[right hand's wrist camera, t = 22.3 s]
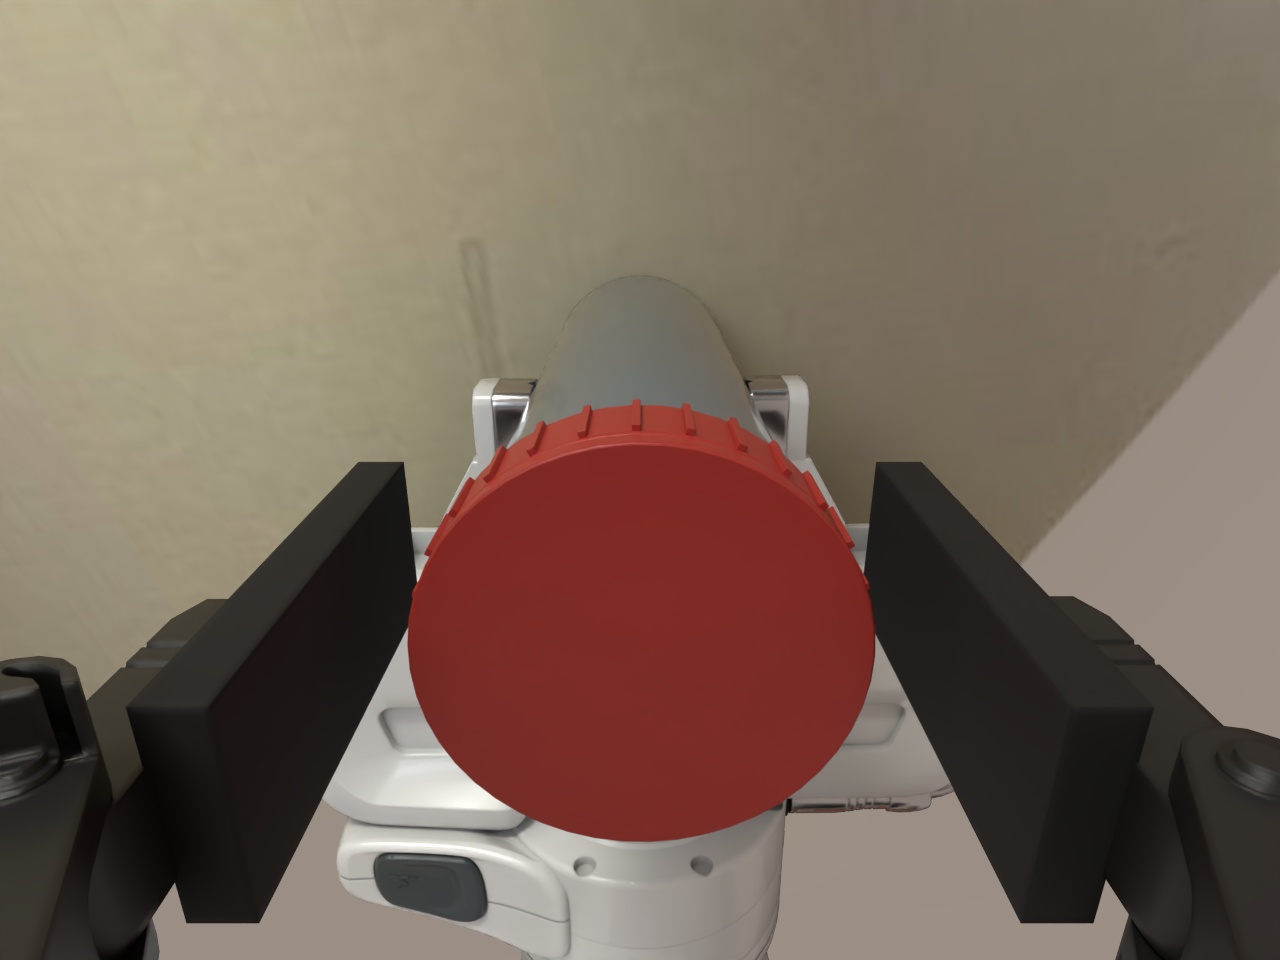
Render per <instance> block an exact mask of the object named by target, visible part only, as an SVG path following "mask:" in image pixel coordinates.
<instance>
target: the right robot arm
mask: <svg viewBox="0 0 1280 960" xmlns="http://www.w3.org/2000/svg"><path fill="white" fill-rule="evenodd" d="M864 575H865V577H866V579H867V581H868V583H869V587H870V589H869V590H868V593H869V596H870V599H871V603H872V610H873V616H874V623H875V634H876V636H877V638H878V640H879V642H880V644H881V646H882V648H883V650H884V652H885V654H886V656H887V658H888V660H889V662H890V664H891V666H892V668H893V670H894V672H895V674H896V676H897V678H898V680H899V682H900V684H901V686H902V688H903V690H904V692H905V694H906V696H907V698H908V700H909V702H910V704H911V706H912V708H913V710H914V712H915V714H916V716H917V718H918V720H919V722H920V724H921V726H922V728H923V730H924V732H925V734H926V736H927V738H928V740H929V742H930V744H931V746H932V748H933V750H934V752H935V754H936V756H937V758H938V759H939V761H940V763H941V765H942V767H943V769H944V771H945V773H946V775H947V777H948V779H949V781H950V783H951V785H952V787H953V789H954V791H955V793H956V795H957V797H958V799H959V801H960V803H961V805H962V807H963V809H964V811H965V813H966V815H967V817H968V819H969V821H970V823H971V825H972V827H973V829H974V831H975V833H976V835H977V837H978V839H979V841H980V843H981V845H982V847H983V849H984V851H985V853H986V855H987V857H988V859H989V861H990V863H991V865H992V867H993V869H994V871H995V873H996V875H997V877H998V879H999V881H1000V883H1001V885H1002V887H1003V889H1004V891H1005V893H1006V895H1007V897H1008V899H1009V901H1010V903H1011V905H1012V906H1013V909H1014V911H1015V913H1016V915H1017V917H1018V918H1019V920H1020V922H1021V923H1094V919H1095V916H1096V912H1097V909H1098V905H1099V902H1100V898H1101V895H1102V891H1103V887H1104V884H1105V880H1107V882H1108V883H1109V884H1110V886H1111V888H1112V889H1113V891H1114V892H1115V894H1116V895H1117V897H1118V898H1119V900H1120V901H1121V903H1122V905H1123V906H1124V908H1125V909H1126V911H1127V912H1128V914H1129V916H1128V920H1127V923H1126V926H1125V930H1124V933H1123V936H1122V940H1121V943H1120V946H1119V950H1118V953H1117V956H1116V959H1115V960H1280V739H1278V738H1275V737H1272V736H1269V735H1265V734H1262V733H1259V732H1255V731H1252V730H1249V729H1243V728H1235V727H1227V726H1223V725H1222V724H1221V723H1220V722H1219V721H1218V720H1217V719H1216V718H1215V717H1214V716H1213V715H1212V714H1211V713H1210V712H1209V711H1208V710H1207V709H1206V708H1204V707H1203V706H1202V705H1201V704H1200V703H1199V702H1198V701H1197V700H1196V699H1195V698H1194V697H1193V696H1192V695H1191V694H1190V693H1189V692H1188V691H1187V690H1186V689H1185V688H1184V687H1183V686H1182V685H1180V684H1179V683H1178V682H1177V681H1176V680H1175V679H1174V678H1173V677H1172V676H1171V675H1170V674H1169V673H1168V672H1167V671H1166V670H1165V669H1164V668H1163V667H1162V666H1161V665H1155V662H1154V659H1153V658H1152V657H1151V656H1150V655H1149V654H1148V653H1147V652H1146V651H1145V650H1144V649H1143V648H1142V647H1141V646H1140V645H1135V644H1134V640H1133V639H1132V638H1131V637H1130V636H1129V635H1128V634H1127V633H1126V632H1125V631H1124V630H1123V629H1122V628H1121V627H1120V626H1119V625H1118V624H1117V623H1116V622H1115V621H1114V620H1113V619H1112V618H1111V617H1110V616H1108V615H1106V614H1104V613H1102V612H1101V611H1099V610H1097V609H1095V608H1093V607H1092V606H1090V605H1088V604H1086V603H1084V602H1082V601H1081V600H1079V599H1077V598H1075V597H1073V596H1048V595H1047V594H1046V593H1045V591H1044V590H1043V589H1042V588H1041V587H1040V586H1039V585H1038V584H1037V583H1036V582H1035V581H1034V580H1033V579H1032V578H1031V577H1030V576H1029V575H1028V574H1027V573H1026V571H1025V570H1024V569H1023V568H1022V567H1021V566H1020V565H1019V564H1018V563H1017V562H1016V561H1015V560H1014V559H1013V558H1012V557H1011V556H1010V555H1009V554H1008V553H1007V552H1006V550H1005V549H1004V548H1003V547H1002V546H1001V545H1000V544H999V543H998V542H997V541H996V540H995V539H994V538H993V537H992V536H991V535H990V534H989V533H988V532H987V530H986V529H985V528H984V527H983V526H982V525H981V524H980V523H979V522H978V521H977V520H976V519H975V518H974V517H973V516H972V515H971V514H970V513H969V512H968V511H967V509H966V508H965V507H964V506H963V505H962V504H961V503H960V502H959V501H958V500H957V499H956V498H955V497H954V496H953V495H952V494H951V493H950V492H949V491H948V489H947V488H946V487H945V486H944V485H943V484H942V483H941V482H940V481H939V480H938V479H937V478H936V477H935V476H934V475H933V474H932V473H931V472H930V471H929V470H928V468H927V467H926V466H925V465H924V464H923V463H922V462H876V470H875V478H874V487H873V496H872V505H871V513H870V522H869V531H868V540H867V548H866V557H865V566H864ZM416 584H417V575H416V566H415V557H414V548H413V540H412V531H411V522H410V513H409V505H408V496H407V487H406V478H405V470H404V462H358V463H357V464H356V465H355V466H354V467H353V468H352V470H351V471H350V472H349V473H348V474H347V475H346V476H345V477H344V478H343V479H342V480H341V481H340V482H339V483H338V484H337V485H336V486H335V487H334V488H333V489H332V491H331V492H330V493H329V494H328V495H327V496H326V497H325V498H324V499H323V500H322V501H321V502H320V503H319V504H318V505H317V506H316V507H315V508H314V509H313V511H312V512H311V513H310V514H309V515H308V516H307V517H306V518H305V519H304V520H303V521H302V522H301V523H300V524H299V525H298V526H297V527H296V528H295V529H294V530H293V532H292V533H291V534H290V535H289V536H288V537H287V538H286V539H285V540H284V541H283V542H282V543H281V544H280V545H279V546H278V547H277V548H276V549H275V550H274V552H273V553H272V554H271V555H270V556H269V557H268V558H267V559H266V560H265V561H264V562H263V563H262V564H261V565H260V566H259V567H258V568H257V569H256V570H255V571H254V573H253V574H252V575H251V576H250V577H249V578H248V579H247V580H246V581H245V582H244V583H243V584H242V585H241V586H240V587H239V588H238V589H237V590H236V591H235V592H234V594H233V595H232V596H231V597H230V598H229V599H207V600H205V601H203V602H201V603H199V604H198V605H196V606H194V607H192V608H190V609H189V610H187V611H185V612H183V613H181V614H180V615H178V616H176V617H174V618H173V619H171V620H170V621H169V622H168V623H167V624H166V625H165V626H164V627H163V628H162V629H161V630H160V631H158V632H157V633H156V634H155V635H154V636H153V637H152V638H151V639H150V640H149V641H148V642H147V646H146V648H141V649H140V650H139V651H138V652H137V653H136V654H135V655H134V656H133V657H132V658H131V659H129V660H128V661H127V662H126V668H120V669H119V670H118V671H117V672H116V673H115V674H114V675H113V676H112V677H111V678H110V679H109V680H108V681H107V682H106V683H105V684H104V685H103V686H102V687H101V688H99V689H98V690H97V691H96V692H95V693H94V694H93V695H92V696H91V697H90V698H89V699H88V700H87V701H86V699H85V695H84V692H83V689H82V685H81V682H80V679H79V675H78V672H77V669H76V667H75V666H73V665H72V664H70V663H69V662H67V661H66V660H64V659H60V658H52V657H43V656H36V657H27V658H17V659H9V660H5V661H1V662H0V960H158V958H159V945H158V939H157V933H156V930H155V926H154V923H153V920H152V917H153V915H154V914H155V912H156V911H157V909H158V907H159V906H160V904H161V903H162V901H163V900H164V898H165V897H166V895H167V894H168V892H169V891H170V889H171V887H172V886H173V884H174V883H175V884H176V887H177V891H178V894H179V898H180V901H181V905H182V909H183V912H184V916H185V919H186V923H259V922H260V920H261V918H262V917H263V914H264V913H265V911H266V909H267V907H268V905H269V903H270V901H271V898H272V897H273V895H274V893H275V891H276V889H277V887H278V885H279V883H280V881H281V879H282V877H283V875H284V873H285V871H286V869H287V867H288V865H289V863H290V861H291V859H292V857H293V855H294V853H295V851H296V849H297V847H298V845H299V843H300V841H301V839H302V837H303V835H304V833H305V831H306V829H307V827H308V825H309V823H310V821H311V819H312V817H313V815H314V813H315V811H316V809H317V807H318V805H319V803H320V801H321V799H322V797H323V795H324V793H325V791H326V789H327V787H328V785H329V783H330V781H331V779H332V777H333V775H334V773H335V771H336V769H337V767H338V765H339V763H340V761H341V759H342V758H343V756H344V754H345V752H346V750H347V748H348V746H349V744H350V742H351V740H352V738H353V736H354V734H355V732H356V730H357V728H358V726H359V724H360V722H361V720H362V718H363V716H364V714H365V712H366V710H367V708H368V706H369V704H370V702H371V700H372V698H373V696H374V694H375V692H376V690H377V688H378V686H379V684H380V682H381V680H382V678H383V676H384V674H385V672H386V670H387V668H388V666H389V664H390V662H391V660H392V658H393V656H394V654H395V652H396V650H397V648H398V646H399V644H400V642H401V640H402V638H403V636H404V634H405V632H406V630H407V628H408V623H409V615H410V610H411V605H412V601H413V598H412V592H413V590H414V588H415V586H416Z"/></svg>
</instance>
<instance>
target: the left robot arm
mask: <svg viewBox="0 0 1280 960" xmlns="http://www.w3.org/2000/svg"><path fill="white" fill-rule="evenodd" d="M743 380H744V382H745V384H746V386H747V388H748V390H749V392H750V394H751V396H752V398H753V400H754V402H755V404H756V406H757V409H758V411H759V413H760V415H761V417H762V419H763V421H764V423H765V425H766V427H767V429H768V431H769V433H770V435H771V437H772V439H773V440H774V441H776V442H777V443H778V444H779V446H780V448H781V450H782V452H783V454H784V456H785V457H786V458H788V459H789V460H790V461H791V462H792V463H793V464H794V465H795V466H796V467H797V468H798V469H799V470H800V472H801V473H802V474H803V473H804V472H805V471H807V470H808V471H809V472H810V473H811V475H812V476H813V478H814V480H815V482H816V483H817V485H818V487H819V489H820V491H821V492H822V494H823V496H824V498H825V500H826V501H827V503H828V505H829V507H828V508H830V507H832V506H833V507H834V509H835V511H836V512H837V514H838V516H839V518H840V519H841V521H842V523H843V525H844V526H845V528H846V530H847V532H848V533H849V535H850V537H851V539H852V541H853V542H854V544H855V547H853V548H851V549H850V550H851V552H852V554H853V555H854V557H855V559H856V561H857V563H858V565H859V566H860V568H861V570H862V572H863V574H864V566H865V557H866V548H867V540H868V531H869V523H858V524H845V521H844V520H843V518H842V516H841V514H840V512H839V510H838V508H837V506H836V505H835V503H834V501H833V499H832V497H831V495H830V493H829V492H828V490H827V488H826V486H825V484H824V482H823V480H822V479H821V477H820V475H819V473H818V471H817V469H816V467H815V466H814V464H813V462H812V460H811V458H810V456H809V455H808V453H807V451H806V449H807V434H808V419H809V404H810V401H809V392H808V386H807V384H806V383H805V382H804V380H803V379H802V378H801V377H800V375H790V376H744V378H743ZM537 382H538V380H537V379H500V378H489V379H481V380H480V381H479V383H478V384H477V385H476V387H475V388H474V391H473V398H472V414H473V425H474V437H475V448H476V455H475V457H474V459H473V461H472V462H471V464H470V466H469V468H468V470H467V472H466V474H465V476H464V478H463V480H462V482H461V484H460V486H459V488H458V490H457V492H456V494H455V496H454V497H453V499H452V501H451V503H450V505H449V507H448V509H447V511H446V513H445V515H446V514H448V513H449V511H450V509H451V507H452V505H453V504H454V502H455V500H456V498H457V496H458V495H459V493H460V491H461V489H462V487H463V486H464V484H465V482H466V481H467V479H468V478H469V477H471V478H472V479H474V480H475V479H476V478H477V477H478V475H479V474H480V473H481V472H482V471H483V470H484V469H485V468H486V467H487V466H488V465H489V464H490V463H491V461H492V459H493V457H494V455H495V453H496V451H497V449H498V448H499V447H500V446H502V445H503V446H504V447H505V448H506V446H507V444H508V442H509V440H510V438H511V436H512V434H513V432H514V430H515V428H516V426H517V423H518V421H519V419H520V417H521V415H522V413H523V411H524V409H525V407H526V405H527V402H528V400H529V398H530V396H531V394H532V392H533V390H534V388H535V386H536V384H537ZM828 508H827V509H828ZM445 515H444V516H445ZM443 518H444V517H443ZM442 520H443V519H442ZM441 522H442V521H441ZM440 524H441V523H440ZM437 529H438V527H419V528H411V531H412V540H413V548H414V557H415V566H416V575H417V582H418V580H419V579H420V576H421V574H422V571H423V568H424V566H425V564H426V562H427V560H428V558H429V557H428V556H426V555H424V553H425V551H426V549H427V547H428V545H429V543H430V541H431V540H432V538H433V536H434V534H435V532H436V531H437ZM407 639H408V628H407V630H406V632H405V634H404V636H403V638H402V640H401V642H400V644H399V646H398V648H397V650H396V652H395V654H394V656H393V658H392V660H391V662H390V664H389V666H388V668H387V670H386V672H385V674H384V676H383V678H382V680H381V682H380V684H379V686H378V688H377V690H376V692H375V694H374V696H373V698H372V700H371V702H370V704H369V706H368V708H367V710H366V712H365V714H364V716H363V718H362V720H361V722H360V724H359V726H358V728H357V730H356V732H355V734H354V736H353V738H352V740H351V742H350V744H349V746H348V748H347V750H346V752H345V754H344V756H343V758H342V759H341V761H340V763H339V765H338V767H337V769H336V771H335V773H334V775H333V777H332V779H331V781H330V783H329V785H328V787H327V789H326V791H325V793H324V795H323V797H322V800H323V801H324V802H325V803H326V804H327V805H329V806H330V807H331V808H333V809H335V810H336V811H338V812H339V813H341V814H343V815H345V816H347V819H346V822H345V826H344V829H343V833H342V837H341V840H340V844H339V847H338V851H337V857H336V859H337V870H338V875H339V879H340V881H341V884H342V885H343V887H344V889H345V890H346V891H347V892H348V893H349V894H351V895H352V896H354V897H356V898H358V899H360V900H363V901H366V902H369V903H372V904H377V905H381V906H385V907H390V908H394V909H398V910H403V911H407V912H411V913H415V914H419V915H423V916H427V917H431V918H435V919H438V920H442V921H446V922H449V923H452V924H456V925H459V926H462V927H465V928H468V929H471V930H474V931H477V932H480V933H482V934H485V935H488V936H491V937H493V938H496V939H498V940H500V941H502V942H505V943H507V944H509V945H512V946H514V947H516V948H518V949H520V950H521V951H522V955H521V960H769V959H768V954H767V950H768V948H769V946H770V943H771V941H772V938H773V934H774V931H775V927H776V923H777V917H778V909H779V896H780V882H781V868H782V854H783V844H784V826H785V816H787V814H788V813H795V812H796V813H836V812H845V811H854V810H860V809H863V808H864V809H871V808H873V809H886V811H891V812H912V811H919V810H923V809H926V808H929V806H930V804H931V799H932V798H936V797H940V796H944V795H946V794H949V793H951V792H953V791H954V789H953V787H952V785H951V783H950V781H949V779H948V777H947V775H946V773H945V771H944V769H943V767H942V765H941V763H940V761H939V759H938V758H937V756H936V754H935V752H934V750H933V748H932V746H931V744H930V742H929V740H928V738H927V736H926V734H925V732H924V730H923V728H922V726H921V724H920V722H919V720H918V718H917V716H916V714H915V712H914V710H913V708H912V706H911V704H910V702H909V700H908V698H907V696H906V694H905V692H904V690H903V688H902V686H901V684H900V682H899V680H898V678H897V676H896V674H895V672H894V670H893V668H892V666H891V664H890V662H889V660H888V658H887V656H886V654H885V652H884V650H883V648H882V646H881V644H880V642H879V640H878V638H877V636H876V634H875V660H874V666H873V673H872V679H871V683H870V686H869V690H868V693H867V696H866V699H865V702H864V705H863V708H862V710H861V712H860V714H859V716H858V718H857V720H856V722H855V725H854V727H853V729H852V730H851V732H850V733H849V735H848V736H847V738H846V740H845V741H844V743H843V744H842V746H841V747H840V749H839V750H838V752H837V753H836V754H835V755H834V756H833V757H832V758H831V760H830V761H829V762H828V763H827V764H826V765H825V766H824V768H823V769H822V770H821V771H820V772H819V773H818V774H817V775H816V776H814V777H813V778H812V779H811V780H810V781H809V782H808V783H807V784H806V785H804V786H803V787H802V788H801V789H800V790H798V791H797V792H795V793H794V794H793V795H791V796H790V797H788V798H787V799H785V800H784V801H783V802H781V803H780V804H778V805H776V806H774V807H773V808H771V809H769V810H767V811H765V812H763V813H762V814H760V815H758V816H756V817H754V818H752V819H749V820H747V821H744V822H742V823H739V824H737V825H734V826H732V827H729V828H726V829H722V830H719V831H716V832H712V833H709V834H705V835H701V836H695V837H690V838H684V839H679V840H669V841H656V842H623V841H614V840H606V839H597V838H592V837H587V836H583V835H579V834H574V833H570V832H566V831H563V830H560V829H557V828H554V827H551V826H549V825H546V824H543V823H540V822H538V821H536V820H534V819H532V818H530V817H527V816H525V815H523V814H521V813H519V812H517V811H515V810H514V809H512V808H510V807H509V806H507V805H505V804H504V803H502V802H500V801H499V800H497V799H495V798H494V797H493V796H491V795H490V794H489V793H488V792H486V791H485V790H484V789H482V788H481V787H480V786H479V785H477V784H476V783H475V782H473V781H472V780H471V779H470V778H469V777H468V776H467V775H466V774H465V773H464V772H463V771H462V770H461V769H460V768H459V767H458V766H457V765H456V764H455V763H454V761H453V760H452V759H451V757H450V756H449V755H448V754H447V752H446V751H445V750H444V748H443V747H442V746H441V745H440V743H439V742H438V740H437V738H436V737H435V735H434V733H433V732H432V730H431V728H430V726H429V725H428V723H427V721H426V719H425V717H424V714H423V712H422V709H421V707H420V705H419V702H418V700H417V697H416V694H415V690H414V686H413V682H412V678H411V674H410V669H409V658H408V647H407Z"/></svg>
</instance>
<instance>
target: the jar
mask: <svg viewBox="0 0 1280 960" xmlns="http://www.w3.org/2000/svg"><path fill="white" fill-rule="evenodd" d="M633 399H640V400H641V405H659V406H668V407H675V408H682V404H683V403H686V404H690V405H691V410H693V411H696V412H700V413H703V414H707V415H710V416H714V417H717V418H720V419H722V420H725V421H727V422H728V420H729V418H730V417H733V418H735V419H737V420H738V423H739V425H740V427H741V428H743V429H745V430H747V431H749V432H750V433H752V434H754V435H755V436H757V437H759V438H760V439H762V440H764V441H765V442H767V443H770V442H771V441H772V440H773V439H772V437H771V435H770V433H769V431H768V429H767V427H766V425H765V423H764V421H763V419H762V417H761V415H760V413H759V411H758V409H757V406H756V404H755V402H754V400H753V398H752V396H751V394H750V392H749V390H748V388H747V386H746V384H745V382H744V380H743V378H742V376H741V373H740V371H739V369H738V367H737V365H736V363H735V361H734V359H733V357H732V355H731V353H730V351H729V349H728V347H727V345H726V343H725V340H724V338H723V336H722V334H721V332H720V330H719V328H718V326H717V324H716V322H715V320H714V318H713V317H712V315H711V313H710V312H709V311H708V309H707V308H706V307H705V305H704V304H703V303H702V302H701V301H700V300H699V299H698V298H697V297H696V296H695V295H693V294H692V293H691V292H689V291H688V290H687V289H685V288H683V287H681V286H680V285H678V284H676V283H673V282H671V281H668V280H665V279H661V278H657V277H649V276H631V277H625V278H620V279H617V280H614V281H611V282H608V283H606V284H604V285H602V286H600V287H598V288H597V289H595V290H594V291H592V292H591V293H589V294H588V295H587V296H586V297H585V298H583V299H582V301H581V302H580V303H579V304H578V305H577V306H576V307H575V308H574V310H573V311H572V313H571V314H570V316H569V317H568V319H567V321H566V323H565V325H564V327H563V329H562V331H561V333H560V336H559V338H558V340H557V342H556V344H555V346H554V348H553V350H552V352H551V354H550V356H549V359H548V361H547V363H546V365H545V367H544V369H543V371H542V373H541V375H540V377H539V379H538V382H537V384H536V386H535V388H534V390H533V392H532V394H531V396H530V398H529V400H528V402H527V405H526V407H525V409H524V411H523V413H522V415H521V417H520V419H519V421H518V423H517V426H516V428H515V430H514V432H513V434H512V436H511V438H510V440H509V442H508V444H507V446H506V449H508V448H509V447H511V446H512V445H513V444H515V443H516V442H518V441H519V440H520V439H522V438H523V437H525V436H527V435H529V434H531V433H533V432H534V430H535V427H536V425H537V423H539V422H541V421H544V422H545V423H546V425H548V424H550V423H553V422H556V421H558V420H561V419H564V418H567V417H569V416H572V415H575V414H579V413H582V409H583V406H587V405H591V408H592V410H596V409H600V408H606V407H616V406H626V405H632V400H633Z"/></svg>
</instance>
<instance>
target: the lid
mask: <svg viewBox="0 0 1280 960" xmlns="http://www.w3.org/2000/svg"><path fill="white" fill-rule="evenodd" d="M828 507H829V505H828V503H827V501H826V500H825V498H824V496H823V494H822V492H821V491H820V489H819V487H818V485H817V483H816V482H815V480H814V478H813V476H812V475H811V473H810V472H809V471H808V470H807V471H805V472H804V473H803V474H802V473H801V472H800V470H799V469H798V468H797V467H796V466H795V465H794V464H793V463H792V462H791V461H790V460H789V459H788V458H786V457H785V456H784V454H783V452H782V450H781V448H780V446H779V444H778V443H777V442H776V441H774V440H772V441H771V442H770V443H767V442H765V441H764V440H762V439H760V438H759V437H757V436H755V435H754V434H752V433H750V432H749V431H747V430H745V429H743V428H741V427H740V425H739V423H738V420H737V419H735V418H733V417H730V418H729V420H728V422H727V421H725V420H722V419H720V418H717V417H714V416H710V415H707V414H703V413H700V412H696V411H693V410H691V405H690V404H686V403H683V404H682V408H675V407H668V406H659V405H641V400H640V399H633V400H632V405H626V406H616V407H606V408H600V409H596V410H592V408H591V405H587V406H583V409H582V413H579V414H575V415H572V416H569V417H567V418H564V419H561V420H558V421H556V422H553V423H550V424H548V425H546V423H545V422H544V421H541V422H539V423H537V425H536V427H535V430H534V432H533V433H531V434H529V435H527V436H525V437H523V438H522V439H520V440H519V441H518V442H516V443H515V444H513V445H512V446H511V447H509V448H508V449H506V448H505V447H504V446H503V445H502V446H500V447H499V448H498V449H497V451H496V453H495V455H494V457H493V459H492V461H491V463H490V464H489V465H488V466H487V467H486V468H485V469H484V470H483V471H482V472H481V473H480V474H479V475H478V477H477V478H476V479H475V480H474V479H472V478H471V477H469V478H468V479H467V481H466V482H465V484H464V486H463V487H462V489H461V491H460V493H459V495H458V496H457V498H456V500H455V502H454V504H453V505H452V507H451V509H450V511H449V513H448V514H446V515H445V516H444V518H443V520H442V522H441V524H440V525H439V527H438V529H437V531H436V532H435V534H434V536H433V538H432V540H431V541H430V543H429V545H428V547H427V549H426V551H425V553H424V555H426V556H428V557H429V558H428V560H427V562H426V564H425V566H424V568H423V571H422V574H421V576H420V579H419V580H418V582H417V584H416V586H415V588H414V590H413V592H412V598H413V601H412V605H411V610H410V615H409V623H408V639H407V647H408V658H409V669H410V674H411V678H412V682H413V686H414V690H415V694H416V697H417V700H418V702H419V705H420V707H421V709H422V712H423V714H424V717H425V719H426V721H427V723H428V725H429V726H430V728H431V730H432V732H433V733H434V735H435V737H436V738H437V740H438V742H439V743H440V745H441V746H442V747H443V748H444V750H445V751H446V752H447V754H448V755H449V756H450V757H451V759H452V760H453V761H454V763H455V764H456V765H457V766H458V767H459V768H460V769H461V770H462V771H463V772H464V773H465V774H466V775H467V776H468V777H469V778H470V779H471V780H472V781H473V782H475V783H476V784H477V785H479V786H480V787H481V788H482V789H484V790H485V791H486V792H488V793H489V794H490V795H491V796H493V797H494V798H495V799H497V800H499V801H500V802H502V803H504V804H505V805H507V806H509V807H510V808H512V809H514V810H515V811H517V812H519V813H521V814H523V815H525V816H527V817H530V818H532V819H534V820H536V821H538V822H540V823H543V824H546V825H549V826H551V827H554V828H557V829H560V830H563V831H566V832H570V833H574V834H579V835H583V836H587V837H592V838H597V839H606V840H614V841H623V842H656V841H669V840H679V839H684V838H690V837H695V836H701V835H705V834H709V833H712V832H716V831H719V830H722V829H726V828H729V827H732V826H734V825H737V824H739V823H742V822H744V821H747V820H749V819H752V818H754V817H756V816H758V815H760V814H762V813H763V812H765V811H767V810H769V809H771V808H773V807H774V806H776V805H778V804H780V803H781V802H783V801H784V800H785V799H787V798H788V797H790V796H791V795H793V794H794V793H795V792H797V791H798V790H800V789H801V788H802V787H803V786H804V785H806V784H807V783H808V782H809V781H810V780H811V779H812V778H813V777H814V776H816V775H817V774H818V773H819V772H820V771H821V770H822V769H823V768H824V766H825V765H826V764H827V763H828V762H829V761H830V760H831V758H832V757H833V756H834V755H835V754H836V753H837V752H838V750H839V749H840V747H841V746H842V744H843V743H844V741H845V740H846V738H847V736H848V735H849V733H850V732H851V730H852V729H853V727H854V725H855V722H856V720H857V718H858V716H859V714H860V712H861V710H862V708H863V705H864V702H865V699H866V696H867V693H868V690H869V686H870V683H871V679H872V673H873V666H874V660H875V623H874V616H873V610H872V603H871V599H870V596H869V593H868V590H869V589H870V587H869V583H868V581H867V579H866V577H865V575H864V574H863V572H862V570H861V568H860V566H859V565H858V563H857V561H856V559H855V557H854V555H853V554H852V552H851V550H850V549H851V548H853V547H855V544H854V542H853V541H852V539H851V537H850V535H849V533H848V532H847V530H846V528H845V526H844V525H843V523H842V521H841V519H840V518H839V516H838V514H837V512H836V511H835V509H834V507H833V506H832V507H830V508H828ZM827 508H828V509H827Z"/></svg>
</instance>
